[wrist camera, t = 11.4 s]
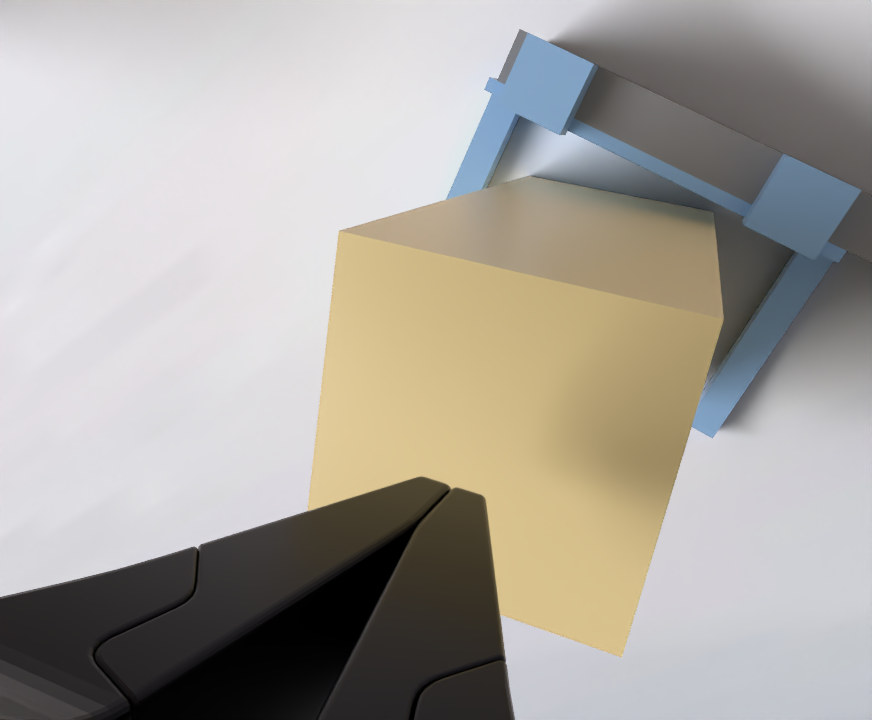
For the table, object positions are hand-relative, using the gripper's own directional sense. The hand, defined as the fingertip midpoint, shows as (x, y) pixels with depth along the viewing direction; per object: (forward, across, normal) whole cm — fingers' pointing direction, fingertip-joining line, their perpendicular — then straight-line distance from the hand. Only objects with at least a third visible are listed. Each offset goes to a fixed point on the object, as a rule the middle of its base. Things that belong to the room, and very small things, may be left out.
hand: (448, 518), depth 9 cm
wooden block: (+13, 0, 0) cm, 13 cm away
